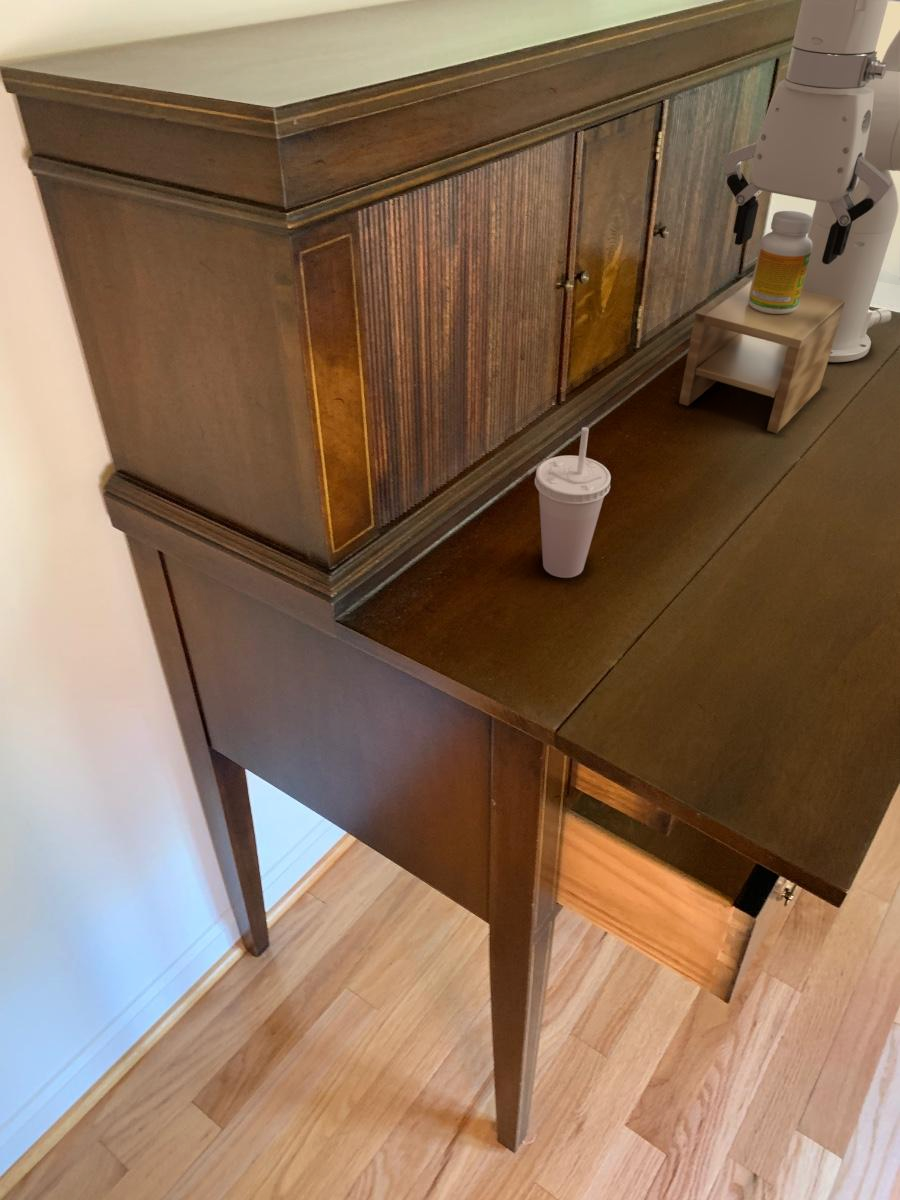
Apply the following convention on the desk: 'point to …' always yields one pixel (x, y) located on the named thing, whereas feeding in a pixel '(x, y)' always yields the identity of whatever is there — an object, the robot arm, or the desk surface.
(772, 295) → the supplement bottle
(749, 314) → the shelf stand
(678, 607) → the desk surface
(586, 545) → the smoothie
